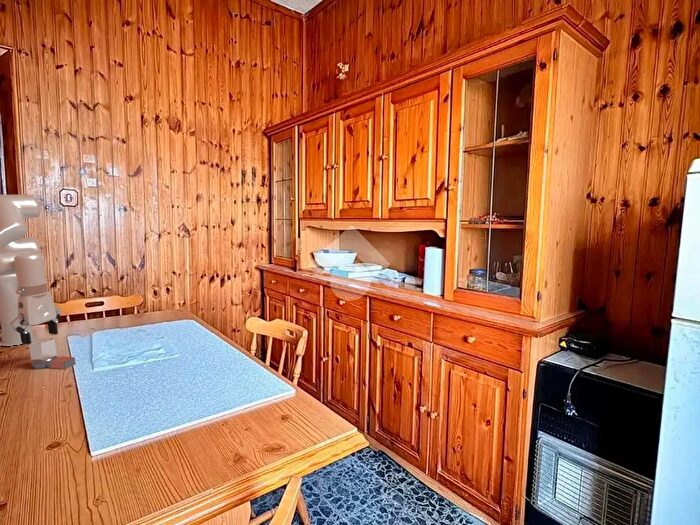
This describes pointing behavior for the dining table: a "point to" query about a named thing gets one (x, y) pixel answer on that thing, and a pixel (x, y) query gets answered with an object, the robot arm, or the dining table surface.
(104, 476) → the dining table surface
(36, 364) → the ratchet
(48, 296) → the robot arm
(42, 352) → the brushed aluminum cube
